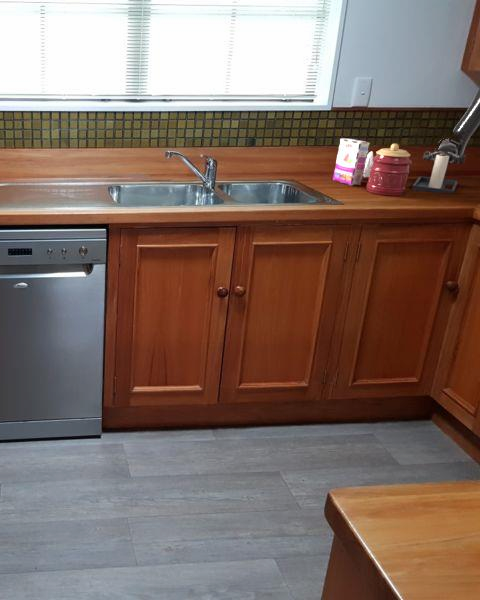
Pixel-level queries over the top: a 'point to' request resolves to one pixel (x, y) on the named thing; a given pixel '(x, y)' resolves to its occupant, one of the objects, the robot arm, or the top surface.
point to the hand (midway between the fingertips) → (442, 159)
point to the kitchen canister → (389, 171)
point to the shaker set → (368, 165)
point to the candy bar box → (351, 161)
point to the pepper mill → (439, 170)
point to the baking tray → (423, 185)
